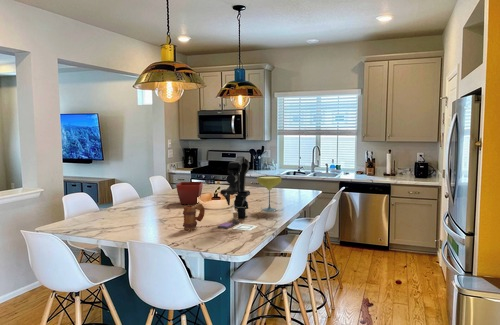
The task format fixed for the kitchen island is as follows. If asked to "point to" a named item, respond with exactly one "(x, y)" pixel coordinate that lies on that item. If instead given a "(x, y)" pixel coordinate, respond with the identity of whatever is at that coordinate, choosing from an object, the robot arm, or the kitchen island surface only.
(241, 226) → the sheet
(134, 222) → the kitchen island surface
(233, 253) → the kitchen island surface
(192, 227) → the mug
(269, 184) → the cocktail glass
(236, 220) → the stamp
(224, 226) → the ink pad
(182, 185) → the plant pot
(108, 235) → the kitchen island surface
